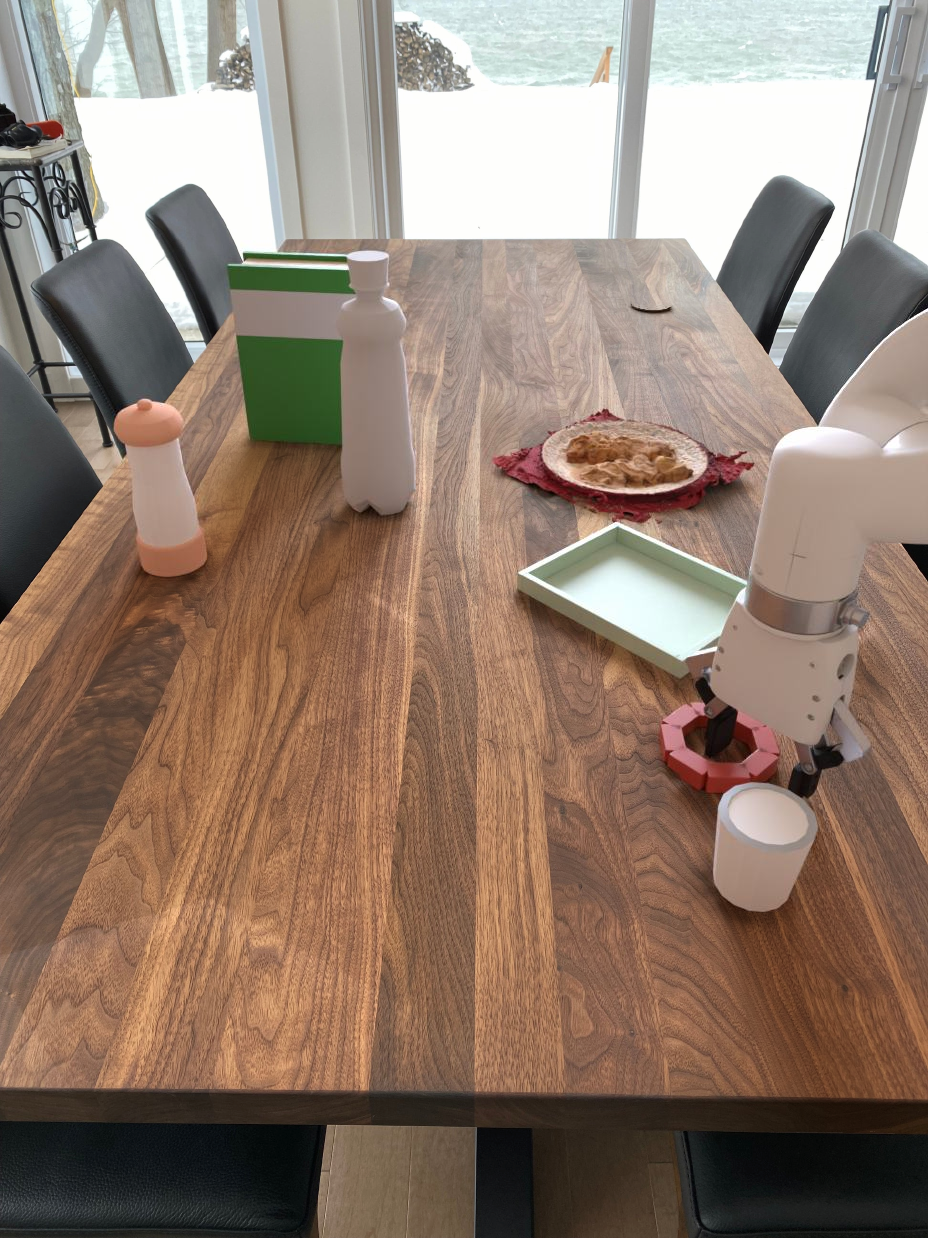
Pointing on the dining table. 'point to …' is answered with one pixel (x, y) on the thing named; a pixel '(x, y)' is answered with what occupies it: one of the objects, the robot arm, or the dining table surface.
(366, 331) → the bottle
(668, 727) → the ring
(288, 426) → the hardback book
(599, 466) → the plate with food
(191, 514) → the pepper shaker
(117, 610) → the dining table surface
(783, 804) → the white cylinder
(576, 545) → the tray
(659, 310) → the dark curved strip
